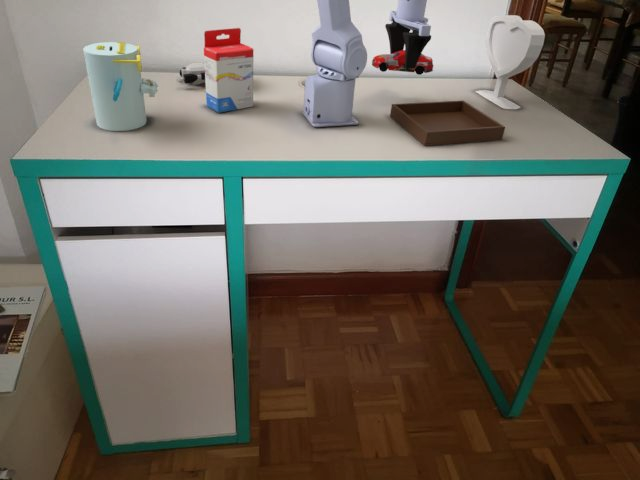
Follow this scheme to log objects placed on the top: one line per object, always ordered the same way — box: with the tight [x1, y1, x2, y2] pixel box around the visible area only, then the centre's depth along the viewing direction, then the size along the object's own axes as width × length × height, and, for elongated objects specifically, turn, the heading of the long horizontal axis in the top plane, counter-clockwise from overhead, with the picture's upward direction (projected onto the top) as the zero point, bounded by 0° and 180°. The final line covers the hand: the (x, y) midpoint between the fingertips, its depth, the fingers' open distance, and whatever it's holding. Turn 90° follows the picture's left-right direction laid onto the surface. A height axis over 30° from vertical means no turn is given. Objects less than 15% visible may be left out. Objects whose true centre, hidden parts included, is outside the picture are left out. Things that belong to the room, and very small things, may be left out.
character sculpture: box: [82, 41, 159, 132], centre depth 92 cm, size 20×12×13 cm, turn 17°
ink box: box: [203, 27, 254, 114], centre depth 102 cm, size 8×5×15 cm, turn 129°
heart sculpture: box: [475, 14, 546, 110], centre depth 117 cm, size 16×5×18 cm, turn 18°
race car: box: [371, 49, 434, 76], centre depth 111 cm, size 13×5×4 cm, turn 86°
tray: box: [389, 100, 506, 147], centre depth 104 cm, size 17×15×3 cm
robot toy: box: [175, 62, 206, 86], centre depth 116 cm, size 12×4×15 cm
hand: (402, 63), depth 112 cm, fingers closed on race car, 6 cm apart
